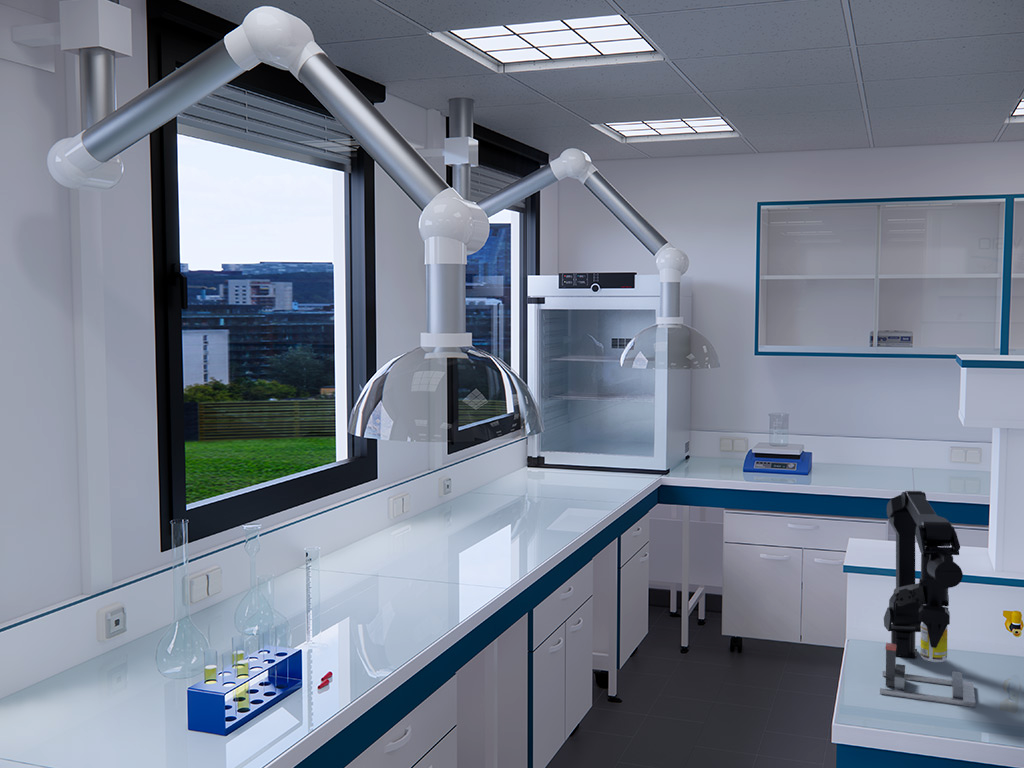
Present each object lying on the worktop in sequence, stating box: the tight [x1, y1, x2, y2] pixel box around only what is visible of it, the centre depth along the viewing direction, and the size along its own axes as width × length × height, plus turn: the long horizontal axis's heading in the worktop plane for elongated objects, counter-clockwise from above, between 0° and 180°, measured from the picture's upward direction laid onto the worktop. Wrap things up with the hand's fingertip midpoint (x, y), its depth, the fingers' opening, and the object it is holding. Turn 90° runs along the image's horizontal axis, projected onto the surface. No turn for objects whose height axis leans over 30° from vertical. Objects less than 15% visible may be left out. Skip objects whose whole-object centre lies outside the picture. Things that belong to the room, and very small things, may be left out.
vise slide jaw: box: [885, 642, 906, 691], centre depth 215 cm, size 9×4×9 cm, turn 156°
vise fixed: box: [879, 670, 976, 708], centre depth 212 cm, size 13×19×4 cm
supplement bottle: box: [920, 622, 948, 663], centre depth 211 cm, size 6×6×10 cm
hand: (933, 643), depth 211 cm, fingers closed on supplement bottle, 5 cm apart
